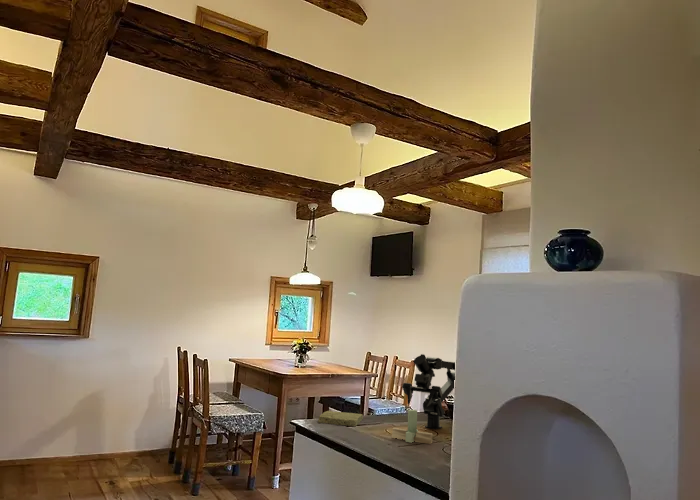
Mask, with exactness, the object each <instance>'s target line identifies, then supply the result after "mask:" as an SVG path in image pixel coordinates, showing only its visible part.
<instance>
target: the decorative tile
mask: <svg viewBox="0 0 700 500" xmlns="http://www.w3.org/2000/svg"><path fill="white" fill-rule="evenodd" d="M363 419H364V416H363V413H362V414H361V413H353V412H343V411H342V412H341V411H332V410H327V411H324V412H322V413H321V414H320V415H319V417H318V420H317V423H321V424H331V425H337V426H349V427H356V426H358V425H359V424H360V423H361V421H363Z"/></svg>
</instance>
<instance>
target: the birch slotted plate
mask: <svg viewBox="0 0 700 500" xmlns="http://www.w3.org/2000/svg"><path fill="white" fill-rule="evenodd" d="M391 431H392V432H391V438H392V439H395V438H397V439H396V440H402V439H403V440H402V441H406V432H408V429H404V428H397V427H392V429H391ZM414 441H415V443H420V444H421V443H422V444H426V445H428V444H429V445H431V444H433V433H432V432H431V433H430V432H424V431H419V430H418V432H416V436H415V437H414Z"/></svg>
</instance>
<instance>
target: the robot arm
mask: <svg viewBox="0 0 700 500" xmlns="http://www.w3.org/2000/svg"><path fill="white" fill-rule="evenodd" d="M413 363H414V365H415V367H416V368H417V370H418V371H419V372H421V373H415V375H414V380H413V381H414V382H415V385H416V386H415V385H413V384H412V383H411V382H403V384H402V387H401V388H402V390H403V392H404V394H405V396H407V404H408V405H410V404H411V402H412V401H411V400H412V398H413V393H414V392H419V393H425V394H426V393H427V394H428V395H427V397H426V398H424V401H423V403H422V411H423V414H424V415H427V417H426V418H427V421H426V425H424V427H425V428H428V429H433V430H437V429H441V428H443V426H442V425H440V424H441V423H440V421H441V417H443V416H444V414H445V410H444V409H443V402H444V401H445V399H446V398H448V396H449V395H450V393H452V392H453V391H454V389H455V388H454V380H455V361H448V360H447V361H445V360H442V358H439V357H432V356H427V357H426V355H425V354H424V353H421V354H420V355H419V356H416V357H415V358H414V360H413ZM442 369H447V371H446V373H445V374H446V376H447V379H446V380H447V381H446V382H445V383H444V384H443V385H442V387H441V386H439V385H432V380H433V378H434V377H436V374H435V371H434V370H442ZM451 370H452V371H451Z"/></svg>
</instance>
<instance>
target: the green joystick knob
mask: <svg viewBox="0 0 700 500" xmlns="http://www.w3.org/2000/svg"><path fill="white" fill-rule="evenodd" d="M407 430H408V432H406V440H405V443H412V442H413V443H414V437H415V436H416V432H418V431H419V429H418V410H417V409H408V410H407Z"/></svg>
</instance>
